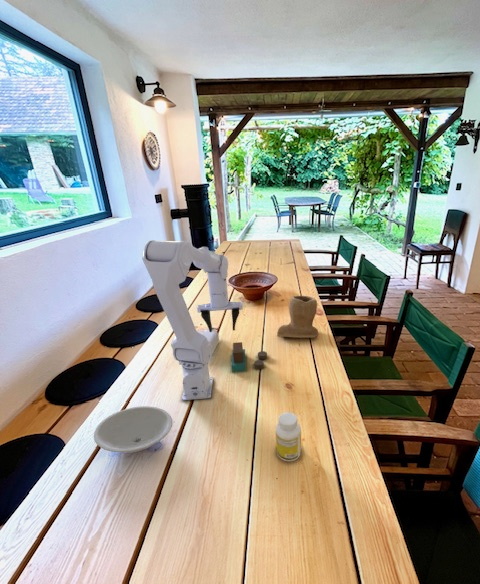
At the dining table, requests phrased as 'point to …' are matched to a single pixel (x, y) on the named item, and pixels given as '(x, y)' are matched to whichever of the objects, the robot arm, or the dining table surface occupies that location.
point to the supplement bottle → (288, 437)
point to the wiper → (238, 358)
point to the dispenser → (211, 337)
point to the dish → (133, 429)
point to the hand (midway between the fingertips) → (222, 330)
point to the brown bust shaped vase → (300, 318)
